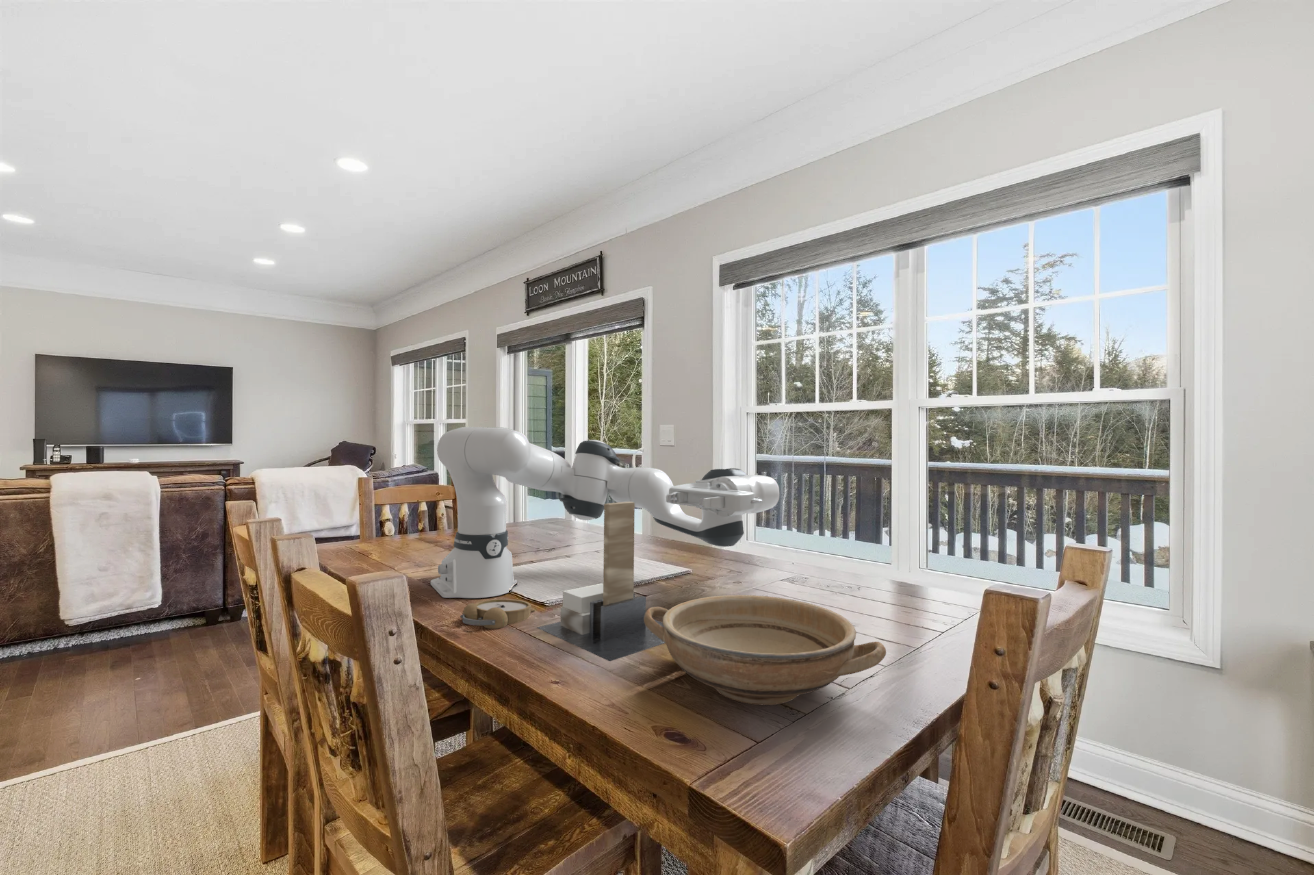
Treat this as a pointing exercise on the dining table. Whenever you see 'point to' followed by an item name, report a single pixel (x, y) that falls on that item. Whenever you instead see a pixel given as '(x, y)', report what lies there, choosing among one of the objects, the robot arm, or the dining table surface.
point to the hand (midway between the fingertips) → (684, 500)
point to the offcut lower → (575, 621)
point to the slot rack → (612, 629)
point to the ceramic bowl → (761, 645)
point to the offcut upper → (582, 597)
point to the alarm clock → (496, 613)
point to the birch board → (618, 552)
